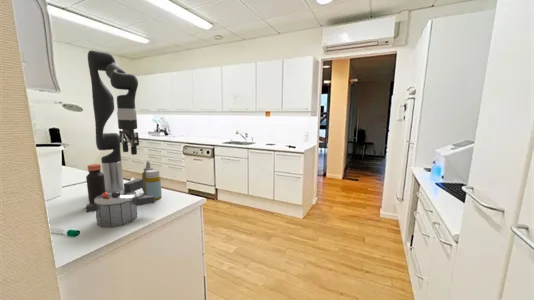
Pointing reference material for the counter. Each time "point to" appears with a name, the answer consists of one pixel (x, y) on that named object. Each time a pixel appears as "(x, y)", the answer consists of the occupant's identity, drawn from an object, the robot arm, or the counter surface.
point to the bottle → (153, 183)
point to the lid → (120, 194)
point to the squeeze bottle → (145, 176)
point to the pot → (118, 212)
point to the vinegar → (95, 182)
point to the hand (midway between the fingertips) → (129, 153)
